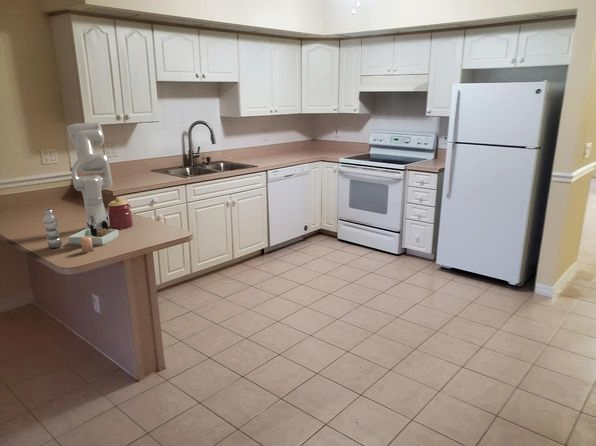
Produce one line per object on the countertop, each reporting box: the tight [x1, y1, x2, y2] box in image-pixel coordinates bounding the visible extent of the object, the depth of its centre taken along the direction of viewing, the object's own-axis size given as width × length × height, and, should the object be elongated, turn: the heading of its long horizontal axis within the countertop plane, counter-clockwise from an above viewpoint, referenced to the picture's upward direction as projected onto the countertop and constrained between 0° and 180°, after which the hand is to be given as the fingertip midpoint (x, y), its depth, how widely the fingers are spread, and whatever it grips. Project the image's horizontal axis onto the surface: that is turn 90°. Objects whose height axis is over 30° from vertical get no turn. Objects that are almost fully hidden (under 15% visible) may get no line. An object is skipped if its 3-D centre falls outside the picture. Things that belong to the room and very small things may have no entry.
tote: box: [67, 228, 120, 246], centre depth 247 cm, size 15×20×4 cm
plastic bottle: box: [42, 208, 63, 249], centre depth 236 cm, size 6×7×20 cm
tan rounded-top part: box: [80, 237, 94, 254], centre depth 229 cm, size 5×5×7 cm
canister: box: [106, 196, 134, 230], centre depth 269 cm, size 13×13×18 cm
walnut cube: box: [94, 229, 108, 237], centre depth 246 cm, size 5×5×5 cm
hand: (100, 232), depth 245 cm, fingers open, 9 cm apart
